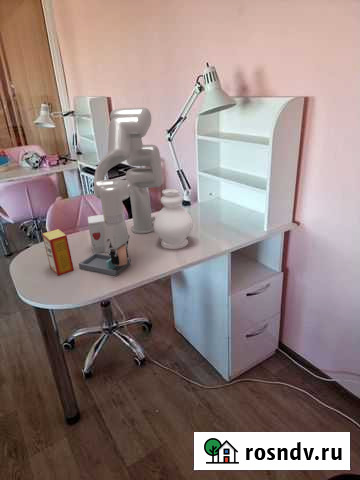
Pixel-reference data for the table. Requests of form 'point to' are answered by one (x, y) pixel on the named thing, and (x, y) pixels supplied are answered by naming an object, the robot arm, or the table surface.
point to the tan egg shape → (122, 255)
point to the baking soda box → (58, 251)
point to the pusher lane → (101, 265)
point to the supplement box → (97, 233)
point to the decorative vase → (172, 221)
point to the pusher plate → (110, 264)
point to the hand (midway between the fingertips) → (120, 260)
